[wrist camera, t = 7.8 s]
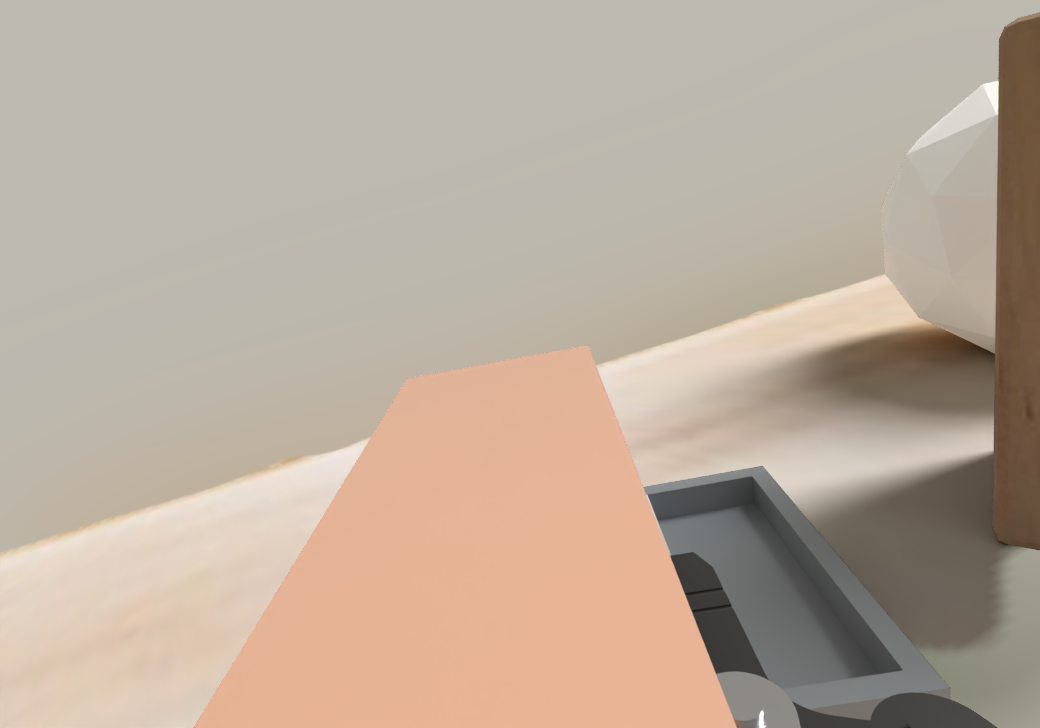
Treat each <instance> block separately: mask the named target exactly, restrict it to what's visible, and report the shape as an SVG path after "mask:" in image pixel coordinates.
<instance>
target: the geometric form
mask: <svg viewBox="0 0 1040 728" xmlns="http://www.w3.org/2000/svg"><path fill="white" fill-rule="evenodd" d="M998 86H999V81H996V82H991V83H987V84H983V85H981V86H980V87H979V88H978V89H976V90H975V91H974V92H973V93H972V94H971V95H969V96H968V97H967V98H966V99H965V100H964V101H962V102H961V103H960V104H959V105H958V106H956V107H955V108H954V109H953V110H952V111H951V112H949V113H948V114H947V115H946V116H945V117H944V118H942V119H941V120H940V121H939V122H938V123H937V124H935V125H934V126H933V127H932V128H931V129H930V130H928V131H927V132H926V133H925V134H924V135H923V136H921V137H920V138H919V140H918V141H917V142H916V143H915V144H914V146H913V147H912V148H911V149H910V151H909V152H908V153H907V154H906V156H905V158H904V160H903V162H902V164H901V166H900V169H899V171H898V173H897V175H896V177H895V179H894V181H893V183H892V185H891V187H890V189H889V191H888V193H887V195H886V197H885V200H884V202H883V204H882V224H883V240H884V257H885V274H886V275H887V277H888V278H889V279H890V281H891V282H892V283H893V285H894V286H895V287H896V288H897V290H898V291H899V292H900V294H901V295H902V296H903V298H904V299H905V300H906V301H907V303H908V304H909V305H910V307H911V308H912V309H913V310H914V312H915V313H916V314H917V316H918V317H919V318H921V319H923V320H925V321H927V322H929V323H931V324H933V325H936V326H938V327H940V328H942V329H944V330H946V331H948V332H950V333H952V334H954V335H957V336H959V337H961V338H963V339H965V340H967V341H969V342H971V343H973V344H975V345H978V346H980V347H982V348H984V349H986V350H988V351H990V352H992V353H994V354H995V318H996V241H997V163H998Z"/></svg>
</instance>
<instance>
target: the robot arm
mask: <svg viewBox="0 0 1040 728" xmlns="http://www.w3.org/2000/svg"><path fill="white" fill-rule="evenodd" d="M670 557H671V560H672V562H673V565H674V567H675V570H676V573H677V575H678V578H679V580H680V583H681V585H682V588H683V591H684V593H685V596H686V598H687V601H688V603H689V606H690V609H691V611H692V614H693V616H694V619H695V621H696V624H697V627H698V629H699V632H700V634H701V637H702V639H703V642H704V644H705V647H706V650H707V652H708V655H709V657H710V660H711V662H712V665H713V668H714V670H715V673H716V675H717V678H718V680H719V683H720V686H721V688H722V691H723V693H724V696H725V698H726V701H727V704H728V706H729V709H730V711H731V714H732V716H733V719H734V722H735V724H736V727H737V728H997V727H995V726H994V725H992V724H991V723H990V722H988V721H987V720H986V719H984V718H983V717H981V716H980V715H978V714H977V713H975V712H974V711H972V710H971V709H969V708H967V707H965V706H963V705H961V704H959V703H957V702H955V701H952V700H950V699H947V698H944V697H940V696H937V695H933V694H926V693H914V692H910V693H901V694H896V695H893V696H890V697H888V698H886V699H884V700H883V701H881V702H880V703H879V704H878V705H877V706H876V708H875V709H874V711H873V713H872V715H871V721H870V720H863V719H855V718H848V717H840V716H833V715H828V714H823V713H819V712H816V711H812V710H810V709H807V708H805V707H803V706H800V705H798V704H797V703H795V702H793V701H791V699H790V698H789V696H788V695H787V694H786V693H785V692H784V691H783V690H782V689H781V688H780V687H779V686H777V685H776V684H774V683H773V682H771V681H769V679H768V678H767V676H766V674H765V672H764V670H763V668H762V666H761V664H760V662H759V660H758V658H757V656H756V654H755V652H754V650H753V648H752V646H751V644H750V642H749V640H748V638H747V635H746V633H745V631H744V629H743V627H742V625H741V623H740V621H739V619H738V617H737V615H736V613H735V611H734V609H732V606H731V603H730V601H729V599H728V597H727V595H726V593H725V591H724V590H723V586H722V584H721V582H720V580H719V578H718V576H717V574H716V572H715V570H714V568H713V567H712V566H711V565H710V564H708V563H707V562H706V561H704V560H703V559H702V558H701V557H699V556H698V555H697V554H695V553H694V552H690V553H684V554H677V555H671V556H670Z"/></svg>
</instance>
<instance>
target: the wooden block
mask: <svg viewBox="0 0 1040 728" xmlns="http://www.w3.org/2000/svg"><path fill="white" fill-rule="evenodd" d="M993 531H994V533H995V535H996V537H997V539H998V540H999V541H1001V542H1003V543H1006V544H1009V545H1015V546H1020V547H1025V548H1031V549H1036V550H1040V13H1036V14H1032V15H1028V16H1025V17H1021V18H1018V19H1016V20H1015V21H1013V22H1011V23H1010V24H1008V25H1007V26H1005V27H1004V30H1003V32H1002V34H1001V36H1000V39H999V86H998V163H997V241H996V318H995V395H994V472H993Z"/></svg>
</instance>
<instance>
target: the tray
mask: <svg viewBox="0 0 1040 728" xmlns="http://www.w3.org/2000/svg"><path fill="white" fill-rule="evenodd" d="M643 488H644V490H645V493H646V496H647V498H648V501H649V503H650V506H651V508H652V511H653V514H654V516H655V519H656V521H657V524H658V526H659V529H660V532H661V534H662V537H663V539H664V542H665V544H666V547H667V549H668V552H669V555H670V556H671V555H677V554H684V553H690V552H694V553H695V554H697V555H698V556H699V557H701V558H702V559H703V560H704V561H706V562H707V563H708V564H710V565H711V566H712V567H713V568H714V570H715V572H716V574H717V576H718V578H719V580H720V582H721V584H722V586H723V590H724V591H725V593H726V595H727V597H728V599H729V601H730V603H731V606H732V609H734V611H735V613H736V615H737V617H738V619H739V621H740V623H741V625H742V627H743V629H744V631H745V633H746V635H747V638H748V640H749V642H750V644H751V646H752V648H753V650H754V652H755V654H756V656H757V658H758V660H759V662H760V664H761V666H762V668H763V670H764V672H765V674H766V676H767V678H768V679H769V681H771V682H773V683H774V684H776V685H777V686H779V687H780V688H781V689H782V690H783V691H784V692H785V693H786V694H787V695H788V696H789V698H790V699H791V701H793V702H795V703H797V704H798V705H800V706H803V707H805V708H807V709H810V710H812V711H816V712H819V713H823V714H828V715H833V716H840V717H848V718H855V719H863V720H870V721H871V715H872V713H873V711H874V709H875V708H876V706H877V705H878V704H879V703H880V702H881V701H883V700H884V699H886V698H888V697H890V696H893V695H896V694H901V693H910V692H914V693H926V694H933V695H937V696H940V697H944V698H947V699H950V687H949V686H948V685H947V684H946V683H945V681H944V680H943V679H942V678H941V677H940V675H939V674H938V673H937V672H936V671H935V670H934V669H933V667H932V666H931V665H930V664H929V662H928V661H927V660H926V659H925V658H924V657H923V655H922V654H921V653H920V652H919V651H918V649H917V648H916V647H915V646H914V645H913V643H912V642H911V641H910V640H909V639H908V638H907V636H906V635H905V634H904V633H903V632H902V630H901V629H900V628H899V627H898V626H897V625H896V623H895V622H894V621H893V620H892V619H891V617H890V616H889V615H888V614H887V613H886V612H885V610H884V609H883V608H882V607H881V606H880V604H879V603H878V602H877V601H876V600H875V598H874V597H873V596H872V595H871V594H870V593H869V591H868V590H867V589H866V588H865V587H864V585H863V584H862V583H861V582H860V581H859V580H858V578H857V577H856V576H855V575H854V574H853V572H852V571H851V570H850V569H849V568H848V567H847V565H846V564H845V563H844V562H843V561H842V559H841V558H840V557H839V556H838V555H837V553H836V552H835V551H834V550H833V549H832V548H831V546H830V545H829V544H828V543H827V542H826V540H825V539H824V538H823V537H822V536H821V535H820V533H819V532H818V531H817V530H816V529H815V527H814V526H813V525H812V524H811V523H810V522H809V520H808V519H807V518H806V517H805V516H804V514H803V513H802V512H801V511H800V510H799V509H798V507H797V506H796V505H795V504H794V503H793V501H792V500H791V499H790V498H789V497H788V495H787V494H786V493H785V492H784V491H783V490H782V488H781V487H780V486H779V485H778V484H777V482H776V481H775V480H774V479H773V478H772V477H771V475H770V474H769V473H768V472H767V471H766V469H765V468H764V467H763V466H759V467H754V468H748V469H743V470H737V471H731V472H726V473H720V474H714V475H709V476H703V477H698V478H692V479H686V480H681V481H675V482H669V483H664V484H658V485H653V486H647V487H643Z"/></svg>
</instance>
